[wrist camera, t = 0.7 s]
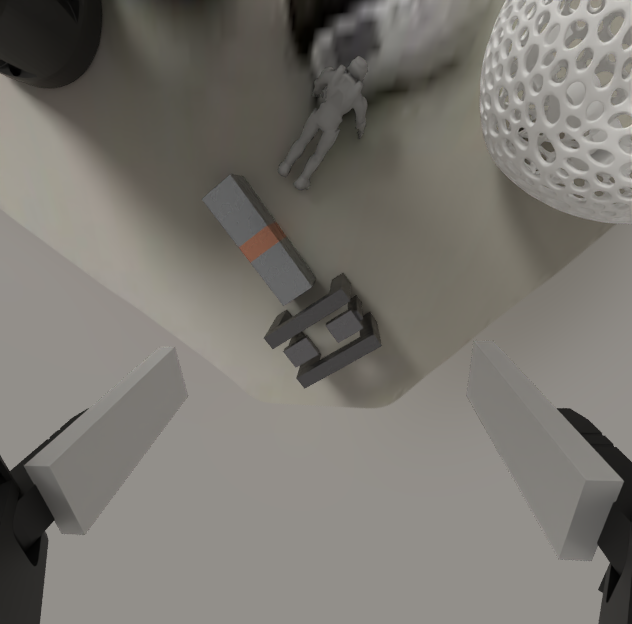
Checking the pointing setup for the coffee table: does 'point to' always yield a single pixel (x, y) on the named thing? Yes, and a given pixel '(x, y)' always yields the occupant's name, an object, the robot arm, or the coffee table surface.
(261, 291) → the coffee table surface
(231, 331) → the coffee table surface
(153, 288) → the coffee table surface
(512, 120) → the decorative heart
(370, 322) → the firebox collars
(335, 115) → the soldier figurine
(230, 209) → the orange-banded grey block
